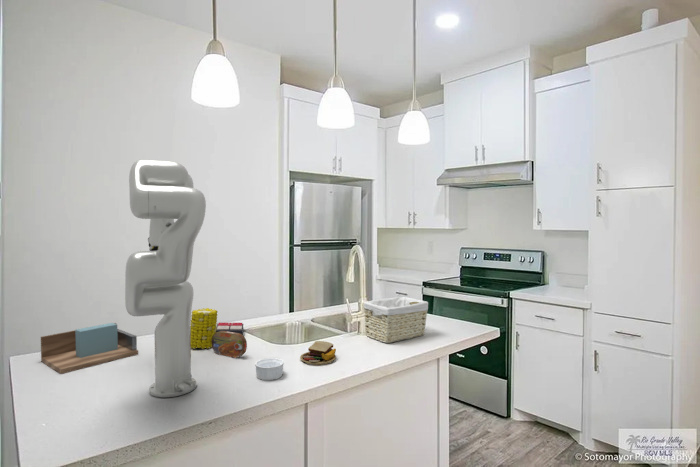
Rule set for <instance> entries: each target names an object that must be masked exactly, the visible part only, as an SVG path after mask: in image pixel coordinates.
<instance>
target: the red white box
mask: <svg viewBox="0 0 700 467" xmlns="http://www.w3.org/2000/svg"><path fill="white" fill-rule="evenodd" d="M216 323H217V324H216V332H220V331H228V332H234V333H240V334H242V335H243V336H244V323H243V322H216Z"/></svg>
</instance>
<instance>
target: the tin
mask: <svg viewBox="0 0 700 467" xmlns="http://www.w3.org/2000/svg"><path fill="white" fill-rule="evenodd" d="M247 342H248V341H247V338H246V337H245V336H244V334H243V335H242V334H240V333H234V332H228V331H220V332H216V333H215V334H214V335H213V337H212V340H211V344H212V347H211V348H212V350H213V352H214V353H215V354H217V355H219V356H223V357H228V358H233V359H236V358H239V357H241V356H243V355H244V354H246V351H247V349H248V348H247V347H248V343H247Z"/></svg>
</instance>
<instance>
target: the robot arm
mask: <svg viewBox="0 0 700 467" xmlns="http://www.w3.org/2000/svg"><path fill="white" fill-rule="evenodd" d="M128 183H129V185H128V186H129V189H128V190H129V206H130V211H131V213H132V215H133V216H134V217H136V218H137V219H140V220H141V219H142V220H149V232H148V233H149V236H148V238H147V241H148V247H149V248H148V249H149V250H144V251H141V250H140V251H136V252H135V251H134V252H133V253H131V254H130V255H129V256H128V258H127V260H126V264H125V275H124V276H125V279H124V281H125V284H124V286H125V288H124V295H125V296H124V300H125V303H124V304H125V305H124V306H125V309H126V312H127V313H128V315H130V316H132V317H147V316H157V315H163V316H162V317H161V319H160V320H159V321H158V323H157V325H155V328H154V377H155V378H154V383H152V384H151V385H150V386H149V390H148V391H149V392H148V393H149V394H150V395H151V396H152V397H156V398H174V397H178V396H183V395H186V394H189V393H190V392H192V391H194V390H195V388H196V387H197V384H198V382H197V379H195V378H193V377H192V364H191V363H192V361H191V360H192V358H191V357H192V355H191V354H192V352H191V351H192V350H191V349H192V348H191V337H190V334H191V320H192V319H191V318H192V316H191V315H192V308H193V302H194V287H193V285H192V284H191V283H190V282H189V281H188V280H189V278H190V275H191V271H192V263H193V256H194V255H193V254H194V245H195V241H196V239H197V237H198V235H199V233H200V230H201V229H202V226H203V224H204V220H205V216H206V208H207V207H206V205H207V204H206V202H207V200H206V196H205V194H204V193H203V192H202V191H201V190H199V189H197V188H194V179H193V178H192V176H191V175H190V174H189V172H188V170H187V168H186V167H185V166H184V165H182V164H181V163H179V162H176V161H169V160H158V159H157V160H156V159H155V160H153V159H139V160H136V161H135V162H133V164H132V165H131V167H130V171H129V176H128Z"/></svg>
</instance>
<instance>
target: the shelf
mask: <svg viewBox="0 0 700 467" xmlns="http://www.w3.org/2000/svg"><path fill="white" fill-rule="evenodd" d="M113 323H114V324H117V323H116V322H113ZM75 330H76V329H75ZM75 330H70V331H64V332H59V333H53V334H48V335H43V336H40V358H41V360H40V361H41V362H42V364H44V365H45V366H48V367H49V368H50V369H52V370H53V371H55V372H57V373H59V374H60V375H63V374H67V373H71V372H74V371H79V370H82V369H85V368H89V367H93V366H97V365H102V364H105V363H110V362H113V361H116V360H121V359H124V358H125V359H126V358H129V357H133V356H137V355H139V350H138V349H137V348H138V345H137V340H138V339H137V338H138V337H137V335H135V334H133V333H130V332H127V331H124V330H122V329H119V328H117V335H118V349H116V350H112V351H108V352H104V353H99V354H95V355H91V356H87V357H83V358H80V357H78V356H76V336H75Z"/></svg>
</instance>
